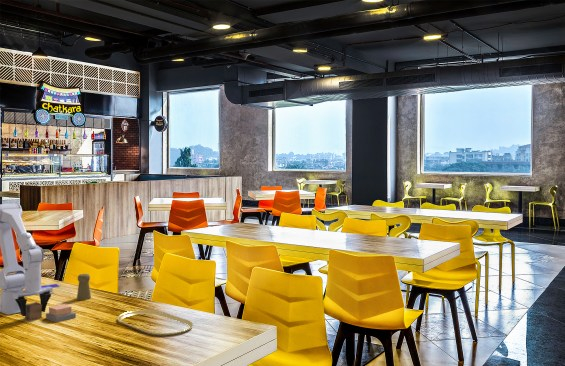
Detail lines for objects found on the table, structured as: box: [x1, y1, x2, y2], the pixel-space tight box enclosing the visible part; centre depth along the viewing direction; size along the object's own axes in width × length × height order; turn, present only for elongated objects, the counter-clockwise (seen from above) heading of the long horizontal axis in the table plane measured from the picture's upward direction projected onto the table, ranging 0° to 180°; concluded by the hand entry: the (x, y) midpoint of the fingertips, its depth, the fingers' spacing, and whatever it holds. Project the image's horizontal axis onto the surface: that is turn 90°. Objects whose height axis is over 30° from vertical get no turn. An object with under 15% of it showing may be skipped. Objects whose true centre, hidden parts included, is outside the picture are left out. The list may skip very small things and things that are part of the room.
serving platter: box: [117, 309, 194, 337], centre depth 204 cm, size 19×35×2 cm, turn 48°
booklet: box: [41, 283, 60, 295], centre depth 254 cm, size 12×25×1 cm, turn 41°
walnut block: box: [24, 301, 43, 322], centre depth 210 cm, size 4×4×6 cm
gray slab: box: [45, 311, 77, 323], centre depth 210 cm, size 8×8×2 cm
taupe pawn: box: [76, 273, 92, 301], centre depth 241 cm, size 6×6×11 cm
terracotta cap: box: [48, 303, 72, 316], centre depth 210 cm, size 6×6×2 cm
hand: (33, 313), depth 210 cm, fingers open, 7 cm apart
